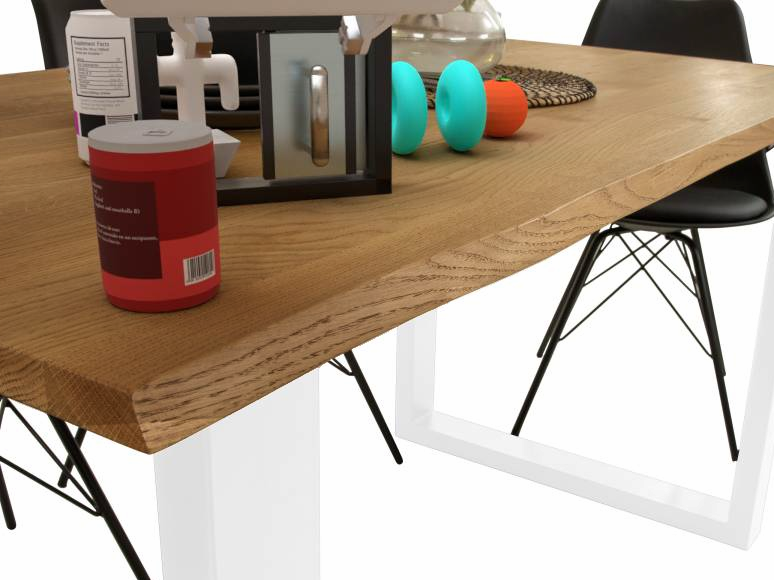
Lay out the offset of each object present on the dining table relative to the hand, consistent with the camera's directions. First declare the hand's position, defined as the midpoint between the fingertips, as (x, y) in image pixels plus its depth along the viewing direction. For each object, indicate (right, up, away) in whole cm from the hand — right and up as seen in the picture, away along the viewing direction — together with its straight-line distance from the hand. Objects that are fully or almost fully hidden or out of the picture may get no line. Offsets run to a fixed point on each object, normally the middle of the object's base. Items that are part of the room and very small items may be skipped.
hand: (275, 48), depth 60 cm
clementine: (+17, +5, +62) cm, 64 cm away
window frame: (-6, -6, +32) cm, 33 cm away
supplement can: (-24, -1, +45) cm, 51 cm away
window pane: (-2, -4, +30) cm, 31 cm away
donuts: (+8, +1, +52) cm, 53 cm away
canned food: (-9, -15, +7) cm, 19 cm away
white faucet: (-15, -3, +40) cm, 43 cm away
